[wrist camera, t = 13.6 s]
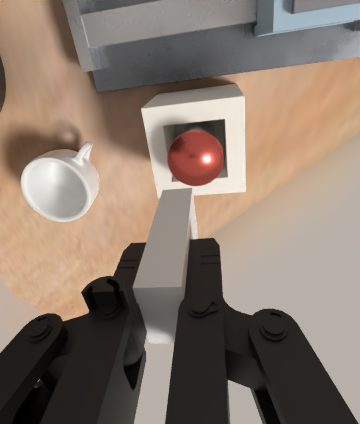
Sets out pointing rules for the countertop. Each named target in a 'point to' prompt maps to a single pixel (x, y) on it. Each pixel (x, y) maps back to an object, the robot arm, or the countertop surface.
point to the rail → (190, 41)
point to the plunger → (196, 155)
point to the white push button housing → (196, 112)
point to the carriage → (303, 14)
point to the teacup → (61, 183)
